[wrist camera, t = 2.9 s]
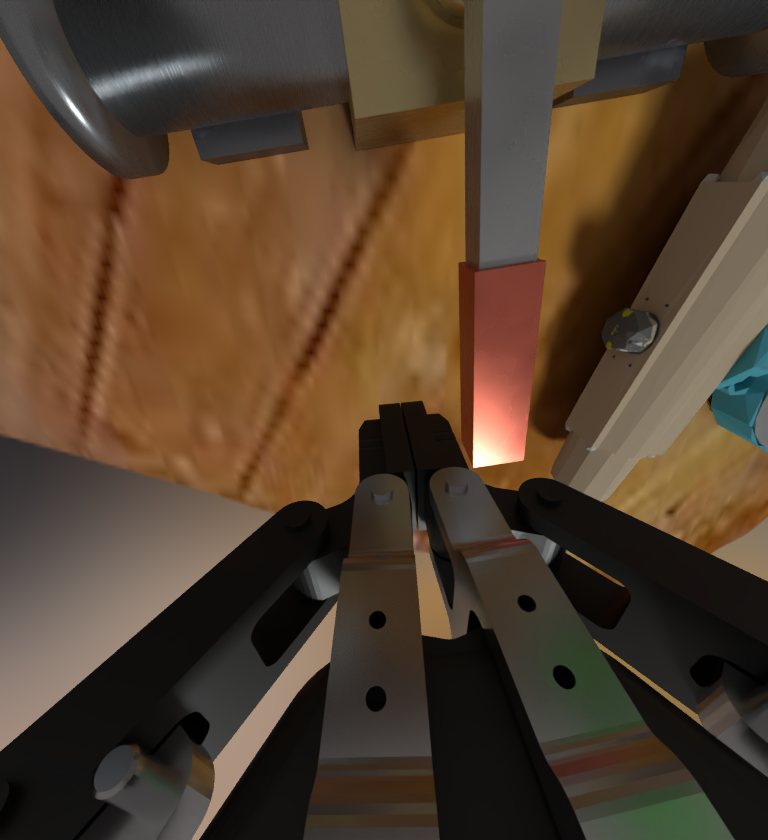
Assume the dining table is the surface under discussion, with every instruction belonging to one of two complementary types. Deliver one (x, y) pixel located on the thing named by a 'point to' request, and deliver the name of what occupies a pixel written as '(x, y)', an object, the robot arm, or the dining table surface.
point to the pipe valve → (326, 66)
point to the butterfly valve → (684, 334)
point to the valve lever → (503, 217)
